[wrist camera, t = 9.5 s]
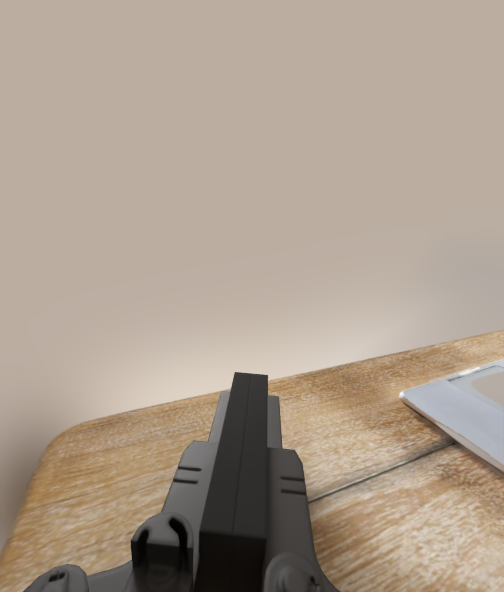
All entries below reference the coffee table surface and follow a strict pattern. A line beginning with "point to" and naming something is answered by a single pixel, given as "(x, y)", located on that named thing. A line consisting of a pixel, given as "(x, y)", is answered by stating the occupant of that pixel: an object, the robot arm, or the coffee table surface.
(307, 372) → the coffee table surface
